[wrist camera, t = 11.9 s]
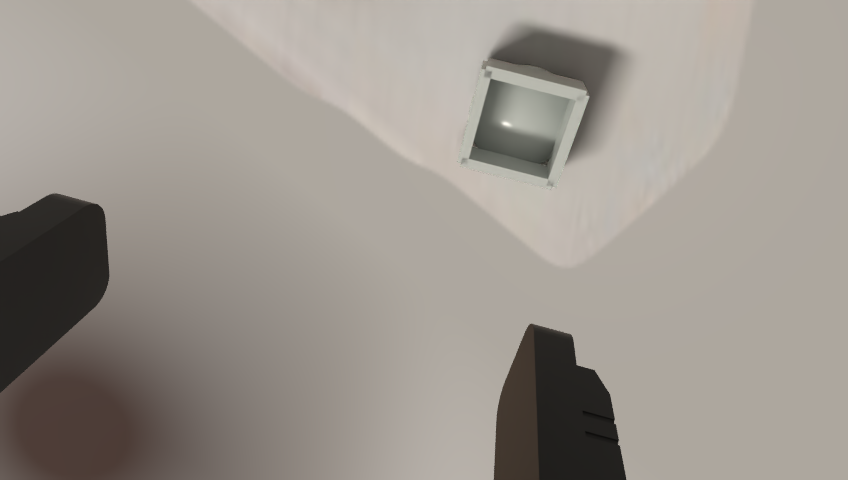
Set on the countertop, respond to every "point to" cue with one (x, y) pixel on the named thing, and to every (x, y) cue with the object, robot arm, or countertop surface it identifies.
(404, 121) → the countertop surface
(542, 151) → the square open box
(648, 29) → the countertop surface
